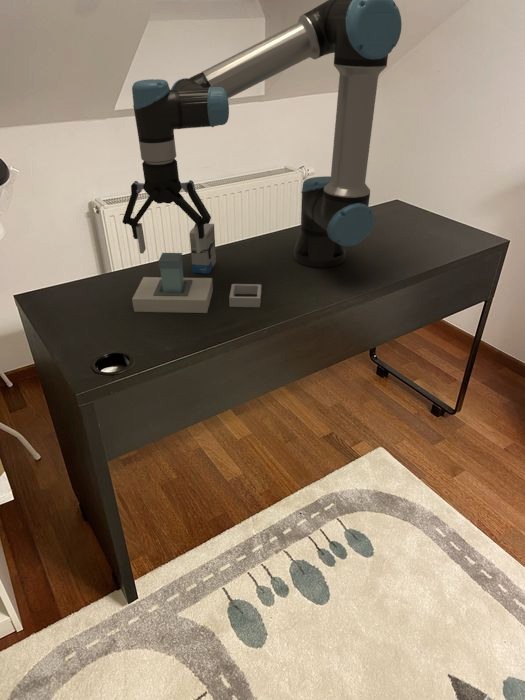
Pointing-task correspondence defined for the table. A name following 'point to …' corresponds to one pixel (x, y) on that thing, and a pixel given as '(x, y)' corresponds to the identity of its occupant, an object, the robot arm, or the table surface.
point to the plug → (172, 272)
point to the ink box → (203, 250)
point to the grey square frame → (245, 301)
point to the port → (173, 296)
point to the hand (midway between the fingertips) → (171, 251)
